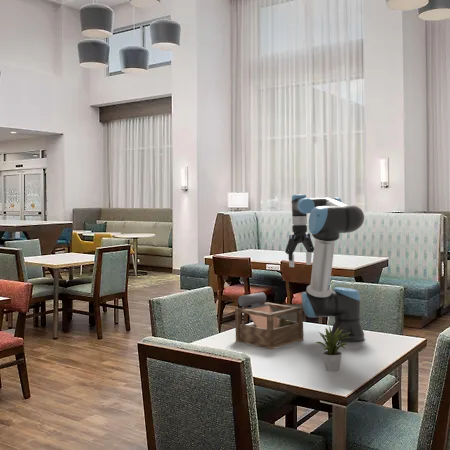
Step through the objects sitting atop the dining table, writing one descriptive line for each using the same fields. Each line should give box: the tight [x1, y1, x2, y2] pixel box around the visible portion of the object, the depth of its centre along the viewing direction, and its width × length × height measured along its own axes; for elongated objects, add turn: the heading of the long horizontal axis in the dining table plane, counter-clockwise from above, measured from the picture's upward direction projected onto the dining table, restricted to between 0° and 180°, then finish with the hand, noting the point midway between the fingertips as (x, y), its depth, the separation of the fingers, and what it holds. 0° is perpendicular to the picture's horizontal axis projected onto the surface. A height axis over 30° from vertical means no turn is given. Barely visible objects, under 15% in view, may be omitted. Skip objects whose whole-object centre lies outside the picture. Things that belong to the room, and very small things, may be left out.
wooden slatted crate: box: [234, 301, 304, 350], centre depth 257 cm, size 22×22×15 cm
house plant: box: [315, 325, 352, 372], centre depth 209 cm, size 14×14×16 cm
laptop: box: [271, 304, 303, 322], centre depth 284 cm, size 18×12×13 cm
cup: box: [278, 318, 294, 328], centre depth 256 cm, size 8×7×8 cm
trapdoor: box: [237, 291, 279, 329], centre depth 261 cm, size 22×15×5 cm
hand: (300, 265), depth 288 cm, fingers open, 13 cm apart
